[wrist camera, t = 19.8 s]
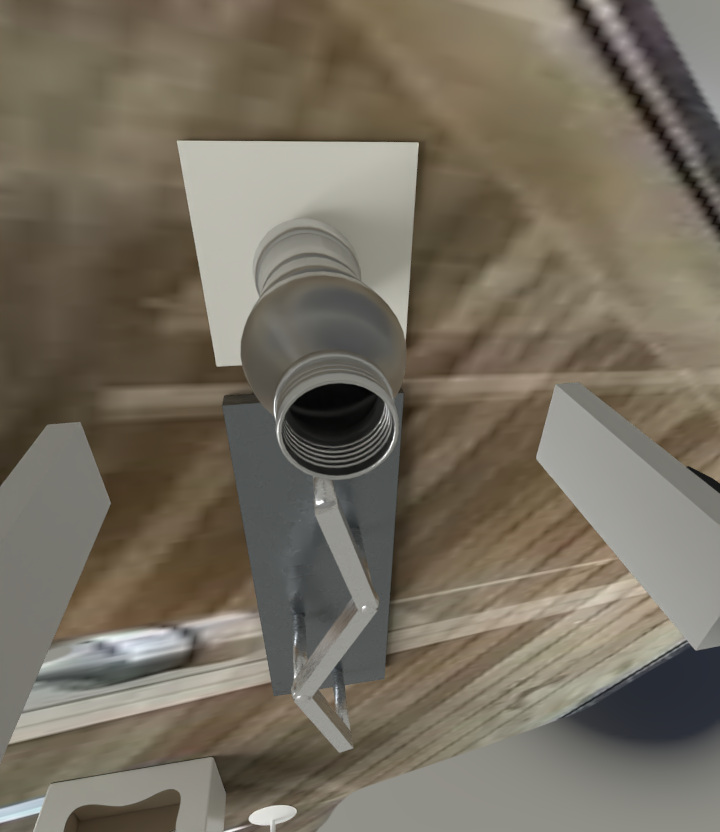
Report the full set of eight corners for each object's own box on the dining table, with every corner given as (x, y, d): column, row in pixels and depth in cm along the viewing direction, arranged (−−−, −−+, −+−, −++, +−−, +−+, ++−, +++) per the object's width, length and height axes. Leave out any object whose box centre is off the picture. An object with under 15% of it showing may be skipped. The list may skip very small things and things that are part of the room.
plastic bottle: (289, 188, 27) (304, 272, 11) (375, 255, 30) (492, 406, 14) (235, 275, 30) (176, 459, 13) (320, 331, 33) (361, 540, 16)
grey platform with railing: (273, 683, 57) (273, 777, 49) (224, 395, 35) (207, 477, 27) (382, 667, 59) (399, 755, 51) (399, 384, 37) (435, 457, 29)
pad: (218, 360, 34) (216, 366, 33) (180, 140, 26) (176, 140, 25) (401, 350, 36) (404, 355, 35) (414, 142, 28) (418, 142, 27)
